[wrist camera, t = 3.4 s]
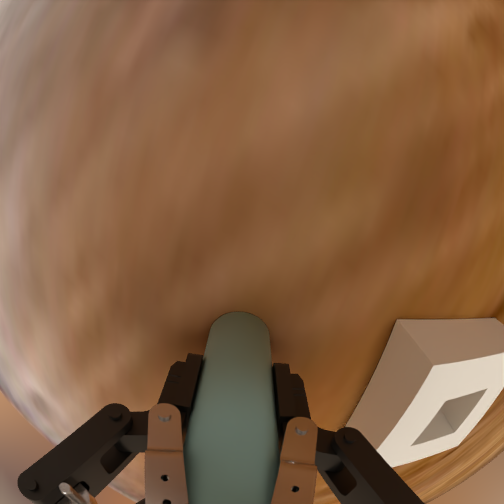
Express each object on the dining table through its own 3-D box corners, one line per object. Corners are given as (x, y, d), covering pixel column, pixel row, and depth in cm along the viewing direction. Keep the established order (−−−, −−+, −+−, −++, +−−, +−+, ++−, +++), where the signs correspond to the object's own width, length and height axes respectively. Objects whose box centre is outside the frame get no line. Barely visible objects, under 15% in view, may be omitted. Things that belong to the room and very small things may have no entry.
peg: (211, 308, 15) (159, 519, 4) (273, 315, 15) (298, 529, 4) (208, 356, 16) (173, 537, 5) (264, 362, 17) (273, 546, 5)
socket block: (396, 319, 16) (433, 365, 11) (494, 317, 16) (527, 346, 11) (342, 430, 19) (354, 474, 15) (439, 413, 20) (457, 445, 15)
